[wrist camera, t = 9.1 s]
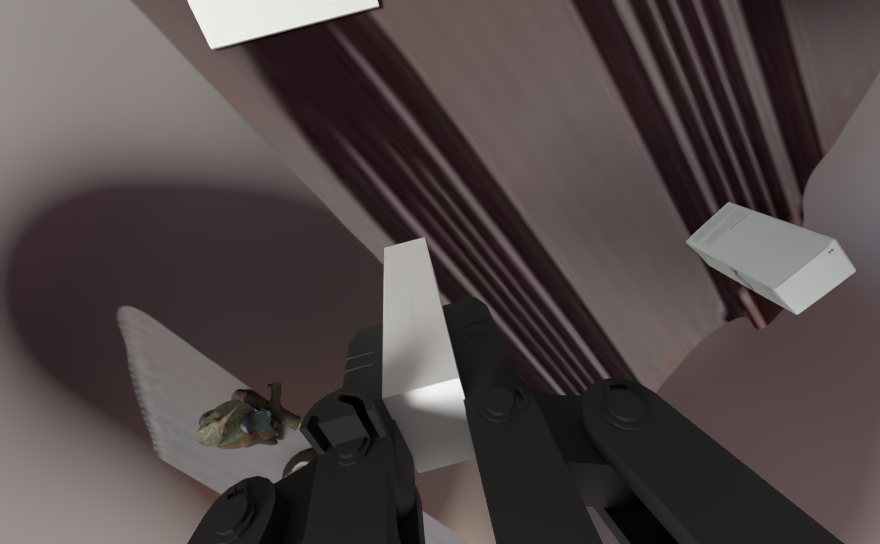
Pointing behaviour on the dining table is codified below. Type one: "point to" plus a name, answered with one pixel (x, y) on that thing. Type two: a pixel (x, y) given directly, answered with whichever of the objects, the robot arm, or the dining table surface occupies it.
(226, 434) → the bird figurine
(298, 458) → the donut
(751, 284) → the supplement box
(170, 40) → the dining table surface
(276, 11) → the rubber mat
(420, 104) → the dining table surface
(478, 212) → the dining table surface
